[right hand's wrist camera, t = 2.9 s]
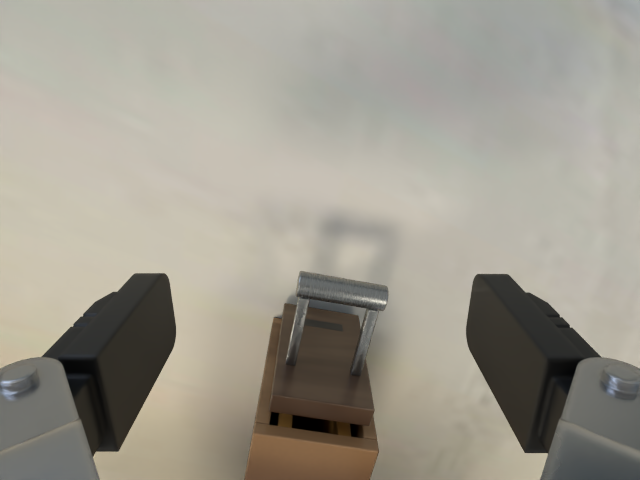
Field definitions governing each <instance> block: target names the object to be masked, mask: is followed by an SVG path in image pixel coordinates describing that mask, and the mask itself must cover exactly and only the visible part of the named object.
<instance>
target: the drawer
mask: <svg viewBox="0 0 640 480" xmlns="http://www.w3.org/2000/svg"><path fill="white" fill-rule="evenodd" d="M296 296H297V297H298V302H297V305H293V304H287V303H285V304H284V309H283V314H282V321H281V328H280V334H279V341H278V348H277V355H276V362H275V369H274V376H273V383H272V390H271V397H270V404H269V411H270V412H273V413H272V418H271V423H270V425H275V426H281V427H288V428H295V429H302V430H309V431H316V432H322V433H329V434H336V435H343V436H350V437H351V429H350V424H357V425H363V426H370V423H371V420H372V417H373V413H374V404H373V398H372V393H371V387H370V381H369V375H368V369H367V363H366V355H367V352H368V348H369V344H370V341H371V337H372V334H373V330H374V327H375V323H376V320H377V316H378V313H379V311H383V310H384V309H385V308H386V305H387V301H388V287H387V286H384V285H378V284H373V283H367V282H361V281H355V280H350V279H344V278H338V277H333V276H327V275H321V274H315V273H310V272H304V271H300V273H299V277H298V282H297V288H296ZM310 299H314V300H320V301H326V302H332V303H338V304H344V305H350V306H356V307H362V308H366V312H365V316H364V320H363V323H362V327H361V328H360V322H359V316H358V315H352V314H346V313H340V312H334V311H328V310H322V309H316V308H310V307H308V305H309V300H310ZM378 310H379V311H378Z"/></svg>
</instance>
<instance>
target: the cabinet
mask: <svg viewBox="0 0 640 480" xmlns="http://www.w3.org/2000/svg"><path fill="white" fill-rule="evenodd" d="M281 321H282V319H280V318H274V319H273V324H272V329H271V335H270V340H269V346H268V351H267V357H266V362H265V368H264V373H263V379H262V384H261V390H260V395H259V401H258V406H257V412H256V417H255V423H254V428H253V434H252V439H251V445H250V450H249V456H248V461H247V467H246V472H245V478H244V480H370V477H371V474H372V471H373V468H374V465H375V462H376V459H377V456H378V453H379V449H378V443H377V436H376V430H375V424H374V418H373V417H372V420H371V423H370V426H363V425H357V424H350V429H351V437H350V436H343V435H336V434H329V433H322V432H316V431H309V430H302V429H295V428H288V427H281V426H275V425H270V423H271V418H272V413H273V412H270V411H269V404H270V397H271V390H272V383H273V376H274V369H275V362H276V355H277V348H278V341H279V334H280V328H281Z"/></svg>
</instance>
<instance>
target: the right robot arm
mask: <svg viewBox="0 0 640 480" xmlns="http://www.w3.org/2000/svg"><path fill="white" fill-rule="evenodd" d="M466 336H467V343H468V347H469V350H470V352H471V354H472V355H473V357H474V359H475V361H476V363H477V365H478V367H479V368H480V370H481V372H482V374H483V376H484V378H485V380H486V381H487V383H488V385H489V387H490V389H491V391H492V393H493V394H494V396H495V398H496V400H497V402H498V404H499V406H500V407H501V409H502V411H503V413H504V415H505V417H506V419H507V421H508V422H509V424H510V426H511V428H512V430H513V432H514V434H515V435H516V437H517V439H518V441H519V443H520V445H521V447H522V448H523V450H524V452H525V453H548V457H547V460H546V463H545V466H544V469H543V473H542V476H541V479H540V480H640V369H639V368H638V367H635V366H633V365H631V364H628V363H625V362H622V361H619V360H615V359H610V358H602V357H601V356H600V355H599V354H598V353H597V352H596V351H595V350H594V349H593V348H592V347H591V346H590V345H589V344H588V343H587V342H586V341H585V340H584V339H583V338H582V337H581V336H580V335H579V334H578V333H577V332H576V331H575V330H574V329H573V328H570V325H569V324H568V323H567V322H566V321H565V320H564V319H563V318H562V317H560V315H559V314H558V313H557V312H556V311H555V310H554V309H553V308H552V307H551V306H550V305H549V304H548V303H547V302H545V301H543V300H542V299H540V298H538V297H536V296H535V295H533V294H531V293H525V292H524V291H523V290H522V289H521V287H520V286H519V285H518V284H517V283H516V282H515V281H514V280H513V279H512V278H511V277H510V276H509V275H508V274H477V275H476V276H475V278H474V281H473V285H472V292H471V299H470V306H469V312H468V319H467V326H466ZM175 337H176V324H175V317H174V310H173V303H172V296H171V289H170V283H169V279H168V277H167V275H166V274H164V273H136V274H134V275H133V276H132V277H131V278H130V279H129V280H128V281H127V282H126V283H125V284H124V285H123V286H122V288H121V289H120V290H119V291H118V292H112V293H110V294H109V295H107V296H105V297H103V298H102V299H100V300H98V301H96V302H95V303H94V304H93V305H92V306H91V307H90V308H89V309H88V310H87V311H86V312H85V313H84V314H83V317H80V318H79V319H78V320H77V321H76V322H75V323H74V326H73V327H70V328H69V329H68V330H67V331H66V332H65V333H64V334H63V336H62V337H61V338H60V339H59V340H58V341H57V342H56V343H55V344H54V345H53V346H52V347H51V348H50V349H49V350H48V351H47V352H46V353H45V354H44V355H43V356H42V357H38V358H30V359H25V360H21V361H18V362H15V363H12V364H9V365H7V366H5V367H2V368H1V369H0V480H100V479H99V476H98V473H97V470H96V466H95V463H94V460H93V456H94V454H95V452H96V451H119V449H120V447H121V445H122V444H123V442H124V440H125V438H126V436H127V434H128V432H129V430H130V429H131V427H132V425H133V423H134V421H135V419H136V417H137V415H138V413H139V412H140V410H141V408H142V406H143V404H144V402H145V400H146V398H147V397H148V395H149V393H150V391H151V389H152V387H153V385H154V383H155V381H156V380H157V378H158V376H159V374H160V372H161V370H162V368H163V366H164V365H165V363H166V361H167V359H168V357H169V355H170V353H171V351H172V349H173V347H174V343H175Z"/></svg>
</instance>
